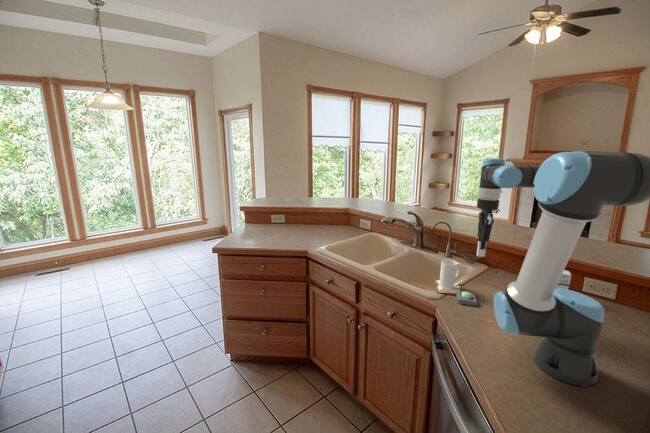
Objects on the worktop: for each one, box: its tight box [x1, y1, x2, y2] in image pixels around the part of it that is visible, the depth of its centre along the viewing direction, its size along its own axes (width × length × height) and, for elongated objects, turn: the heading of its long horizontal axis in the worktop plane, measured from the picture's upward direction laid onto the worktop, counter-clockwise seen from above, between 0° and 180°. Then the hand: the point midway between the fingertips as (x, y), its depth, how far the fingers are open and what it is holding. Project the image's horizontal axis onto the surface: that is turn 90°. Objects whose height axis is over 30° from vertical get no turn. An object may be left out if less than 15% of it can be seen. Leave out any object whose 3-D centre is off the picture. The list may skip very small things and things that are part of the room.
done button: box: [461, 290, 473, 300], centre depth 128 cm, size 4×4×3 cm
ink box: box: [555, 269, 572, 290], centre depth 132 cm, size 9×5×12 cm, turn 62°
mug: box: [439, 259, 461, 289], centre depth 138 cm, size 10×7×12 cm, turn 112°
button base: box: [455, 291, 478, 307], centre depth 128 cm, size 7×7×2 cm
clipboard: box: [434, 279, 463, 297], centre depth 139 cm, size 13×11×1 cm
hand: (480, 255), depth 123 cm, fingers closed
